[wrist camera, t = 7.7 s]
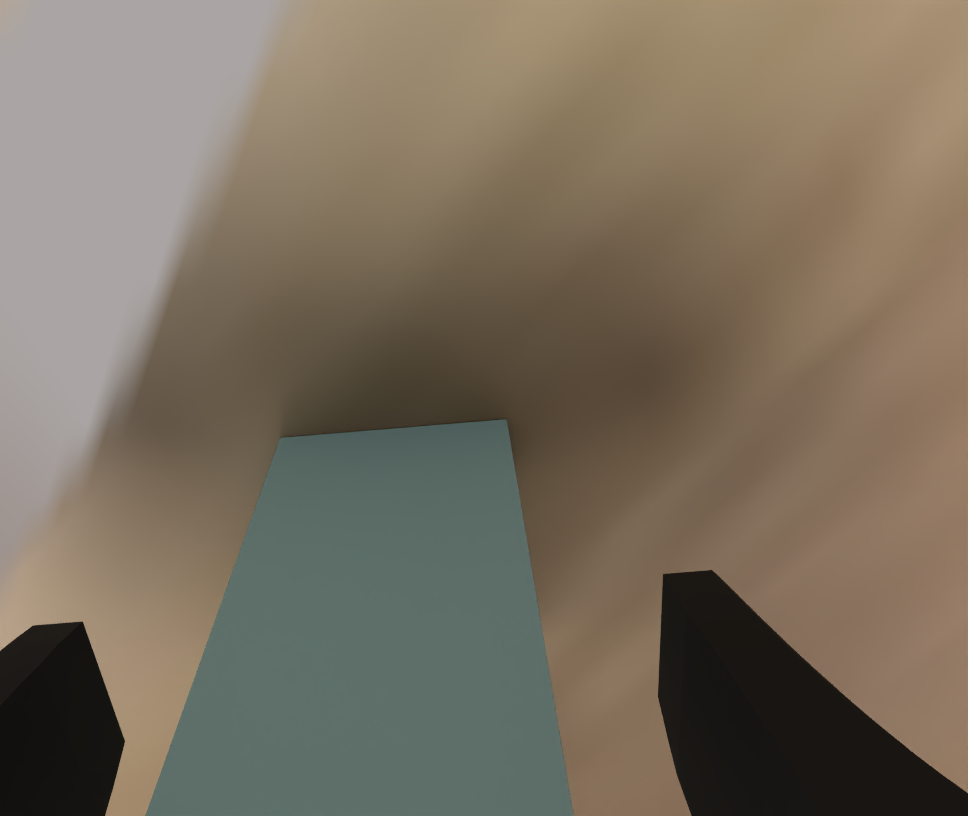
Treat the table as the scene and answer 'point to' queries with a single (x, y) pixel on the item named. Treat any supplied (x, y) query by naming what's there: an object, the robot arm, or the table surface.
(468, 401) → the table surface
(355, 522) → the teal domino
